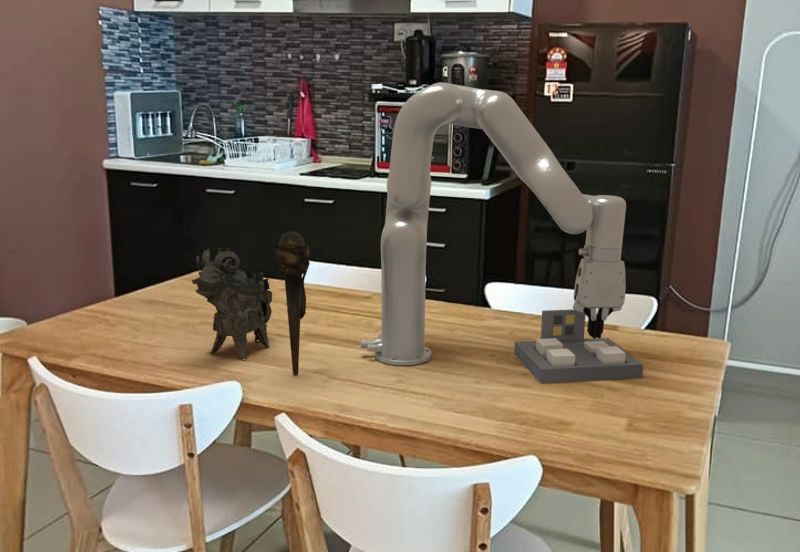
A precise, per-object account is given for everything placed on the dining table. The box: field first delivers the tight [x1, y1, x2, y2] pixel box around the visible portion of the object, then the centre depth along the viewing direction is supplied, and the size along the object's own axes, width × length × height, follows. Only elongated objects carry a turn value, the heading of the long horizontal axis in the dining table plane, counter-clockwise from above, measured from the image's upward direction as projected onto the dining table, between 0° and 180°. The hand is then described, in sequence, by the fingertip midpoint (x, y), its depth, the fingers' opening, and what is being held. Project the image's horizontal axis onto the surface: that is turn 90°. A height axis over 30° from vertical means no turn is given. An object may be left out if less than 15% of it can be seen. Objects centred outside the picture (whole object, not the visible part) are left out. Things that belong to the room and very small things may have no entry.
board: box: [513, 337, 644, 384], centre depth 179 cm, size 22×18×3 cm
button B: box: [596, 346, 626, 364], centre depth 174 cm, size 4×4×2 cm
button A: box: [546, 349, 575, 367], centre depth 173 cm, size 4×4×2 cm
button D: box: [583, 341, 610, 353], centre depth 181 cm, size 4×4×2 cm
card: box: [540, 308, 586, 341], centre depth 186 cm, size 10×1×7 cm, turn 100°
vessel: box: [191, 247, 273, 360], centre depth 183 cm, size 11×25×24 cm, turn 155°
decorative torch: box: [274, 231, 311, 376], centre depth 169 cm, size 7×7×30 cm
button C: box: [535, 338, 563, 355], centre depth 179 cm, size 4×4×2 cm
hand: (594, 336), depth 181 cm, fingers closed
